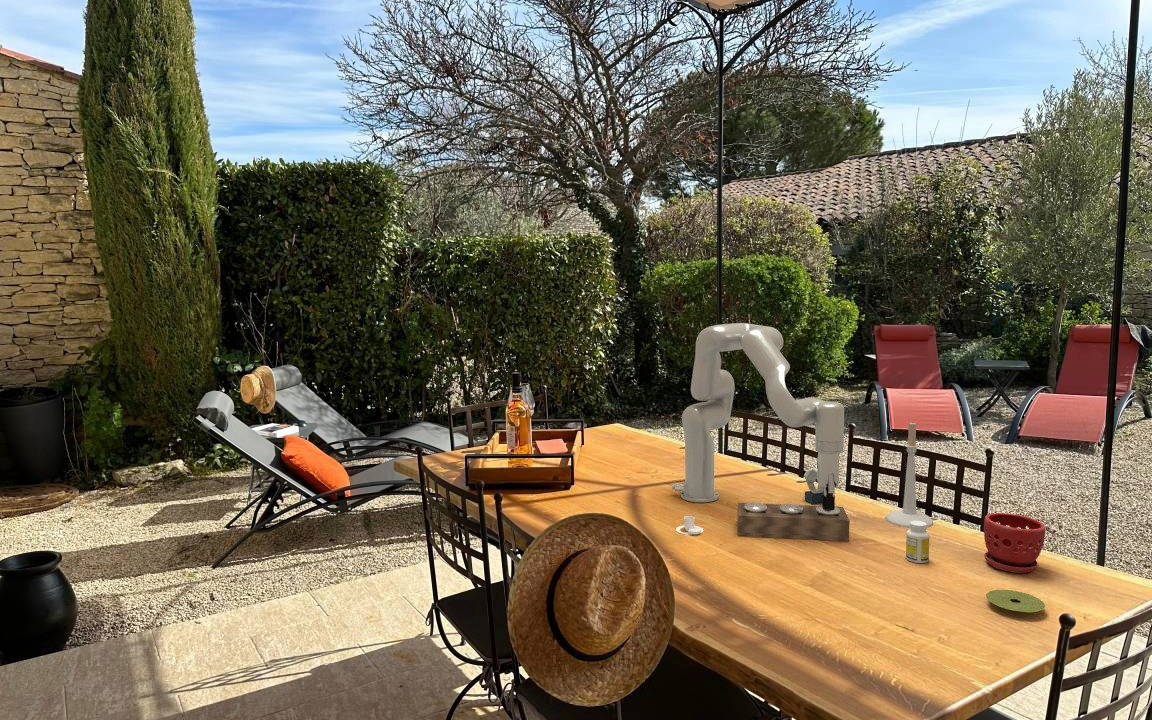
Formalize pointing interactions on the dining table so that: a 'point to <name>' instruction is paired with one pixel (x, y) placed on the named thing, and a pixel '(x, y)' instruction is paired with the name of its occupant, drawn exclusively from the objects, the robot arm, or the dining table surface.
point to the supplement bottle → (917, 542)
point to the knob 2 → (827, 511)
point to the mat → (1015, 600)
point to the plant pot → (1013, 542)
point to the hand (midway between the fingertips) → (828, 508)
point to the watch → (813, 488)
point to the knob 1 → (755, 507)
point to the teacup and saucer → (690, 526)
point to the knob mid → (791, 509)
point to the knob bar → (793, 524)
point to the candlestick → (909, 489)
